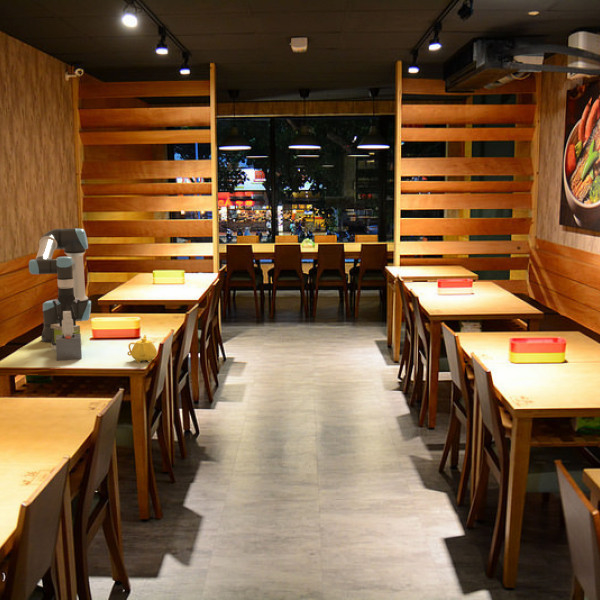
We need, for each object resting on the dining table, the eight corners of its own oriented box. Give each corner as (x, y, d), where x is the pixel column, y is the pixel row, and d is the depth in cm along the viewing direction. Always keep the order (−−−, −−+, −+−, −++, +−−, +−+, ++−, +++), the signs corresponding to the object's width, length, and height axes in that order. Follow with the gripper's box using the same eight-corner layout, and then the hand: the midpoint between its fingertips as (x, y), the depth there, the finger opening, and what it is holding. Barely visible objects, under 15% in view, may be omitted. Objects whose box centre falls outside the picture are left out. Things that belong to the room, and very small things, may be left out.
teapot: (129, 356, 367) (129, 334, 365) (158, 355, 369) (158, 334, 367) (125, 365, 347) (124, 343, 345) (155, 364, 349) (155, 342, 347)
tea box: (81, 352, 376) (80, 325, 374) (64, 355, 369) (62, 327, 367) (68, 347, 387) (67, 321, 384) (51, 350, 380) (49, 323, 377)
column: (65, 356, 362) (63, 311, 358) (73, 355, 363) (71, 310, 359) (65, 358, 357) (62, 313, 353) (73, 358, 358) (71, 312, 354)
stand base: (53, 356, 365) (52, 332, 363) (85, 354, 370) (84, 330, 368) (52, 364, 350) (51, 338, 348) (85, 361, 355) (84, 336, 353)
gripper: (47, 289, 348) (50, 335, 352) (83, 287, 353) (85, 333, 357) (48, 287, 355) (50, 332, 359) (83, 285, 360) (85, 330, 364)
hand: (68, 332), depth 358 cm, fingers closed on column, 4 cm apart
